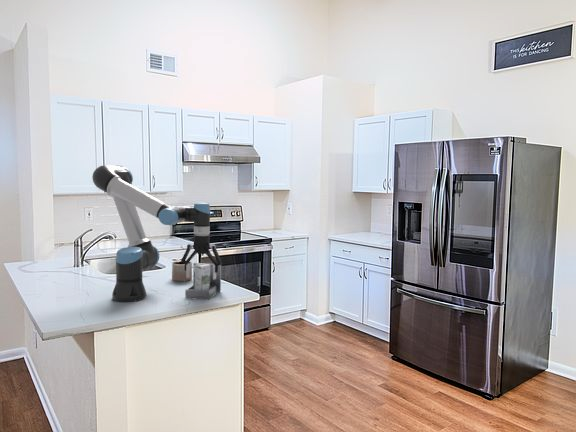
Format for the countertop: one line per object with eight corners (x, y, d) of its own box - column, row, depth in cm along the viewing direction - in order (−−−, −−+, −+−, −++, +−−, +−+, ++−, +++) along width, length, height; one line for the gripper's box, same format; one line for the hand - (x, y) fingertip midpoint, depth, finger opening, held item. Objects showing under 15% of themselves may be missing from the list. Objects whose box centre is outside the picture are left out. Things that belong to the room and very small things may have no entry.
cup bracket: (182, 297, 218) (183, 268, 217) (194, 289, 234) (194, 262, 232) (211, 299, 216) (211, 270, 215) (220, 291, 232) (221, 264, 230)
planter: (177, 282, 247) (177, 265, 246) (168, 279, 255) (168, 262, 254) (195, 280, 254) (195, 263, 253) (185, 276, 262) (186, 260, 261)
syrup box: (201, 291, 227) (202, 262, 226) (210, 293, 223) (210, 264, 222) (193, 293, 222) (193, 264, 221) (201, 295, 219) (201, 266, 217)
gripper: (174, 234, 218) (173, 278, 220) (224, 237, 215) (223, 281, 217) (180, 232, 226) (179, 274, 228) (228, 235, 222) (228, 278, 224)
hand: (201, 278), depth 222 cm, fingers open, 13 cm apart
